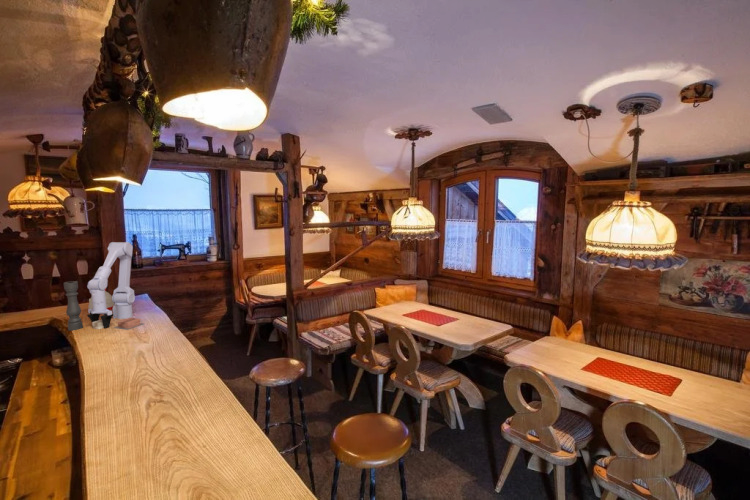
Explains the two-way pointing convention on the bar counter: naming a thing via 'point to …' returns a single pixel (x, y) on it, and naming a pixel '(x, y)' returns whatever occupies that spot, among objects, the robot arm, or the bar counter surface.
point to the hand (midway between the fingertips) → (101, 327)
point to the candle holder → (73, 306)
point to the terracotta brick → (128, 323)
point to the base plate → (128, 328)
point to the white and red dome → (108, 301)
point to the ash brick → (98, 324)
